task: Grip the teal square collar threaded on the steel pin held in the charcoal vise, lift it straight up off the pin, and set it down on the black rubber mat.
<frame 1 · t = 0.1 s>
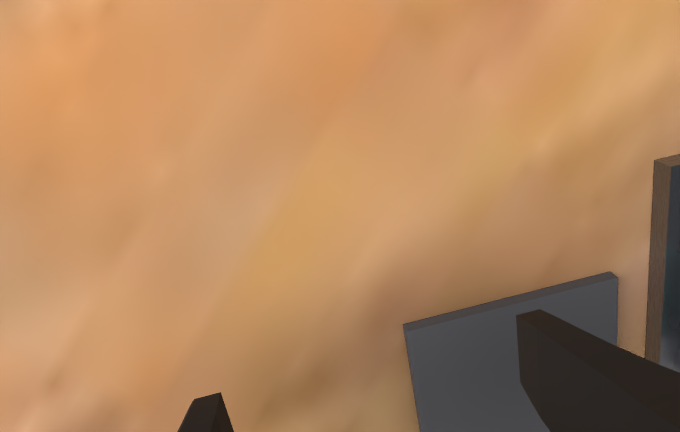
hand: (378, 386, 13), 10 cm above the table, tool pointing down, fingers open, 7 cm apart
mat: (514, 384, 27), on the table
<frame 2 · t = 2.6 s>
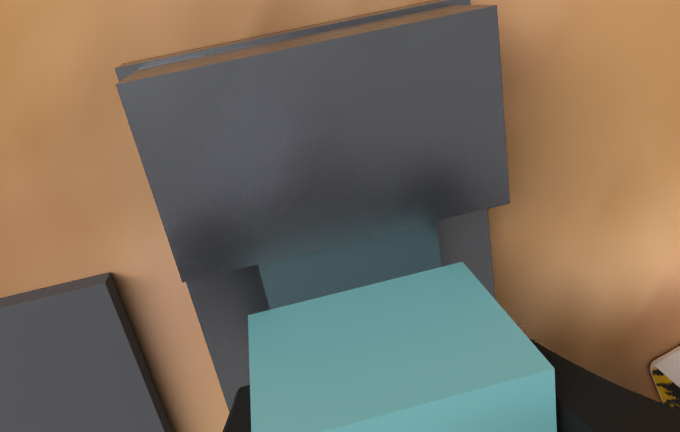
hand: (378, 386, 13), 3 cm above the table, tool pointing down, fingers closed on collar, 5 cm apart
collar: (374, 376, 13), point 3 cm above the table, touching gripper, vise
vise: (351, 312, 16), on the table
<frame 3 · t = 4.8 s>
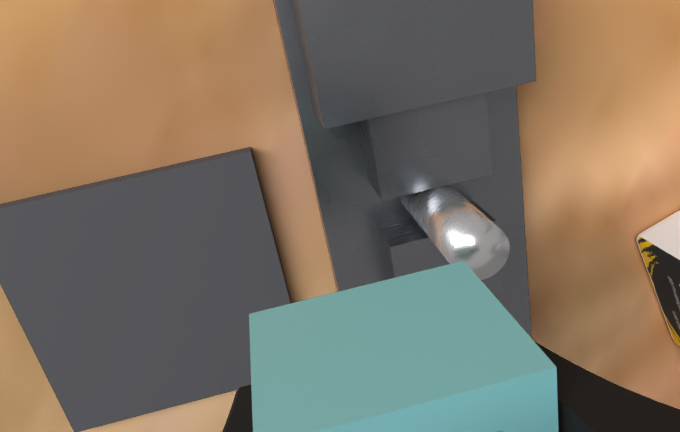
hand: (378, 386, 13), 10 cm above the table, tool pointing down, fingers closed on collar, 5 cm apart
mat: (158, 294, 22), on the table
collar: (375, 375, 13), point 9 cm above the table, touching gripper
vise: (415, 184, 22), on the table
when the fingers open (2 cm above the table, at t = 7.1 s): collar drops 1 cm, resting on mat.
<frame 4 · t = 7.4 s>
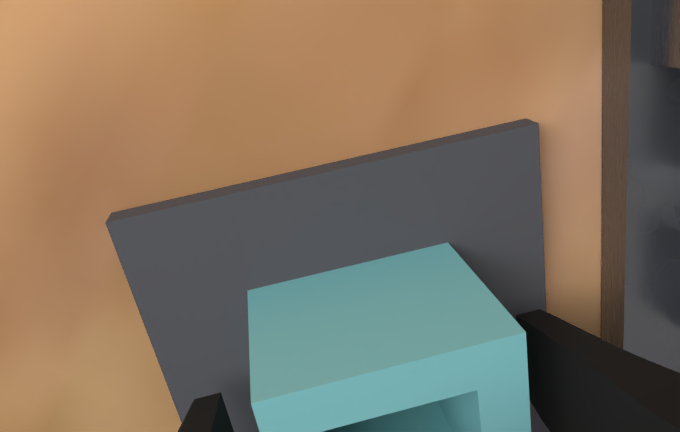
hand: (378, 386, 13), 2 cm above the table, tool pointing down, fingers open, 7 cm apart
mat: (360, 338, 15), on the table
collar: (365, 350, 14), point 1 cm above the table, touching mat
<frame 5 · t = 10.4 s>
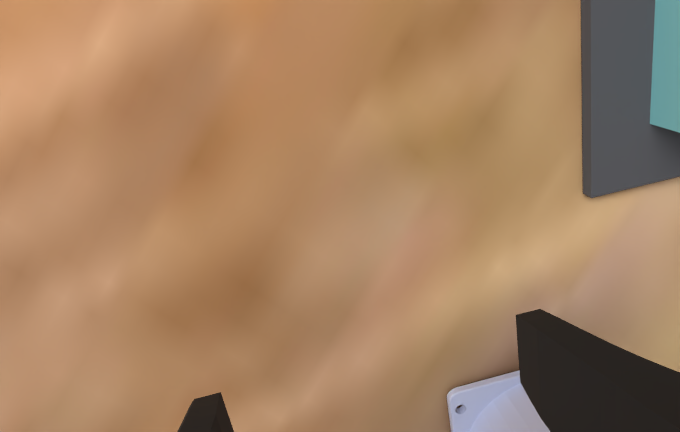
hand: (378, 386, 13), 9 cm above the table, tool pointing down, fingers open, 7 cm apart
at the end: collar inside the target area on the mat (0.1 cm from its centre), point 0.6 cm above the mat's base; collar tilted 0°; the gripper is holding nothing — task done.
